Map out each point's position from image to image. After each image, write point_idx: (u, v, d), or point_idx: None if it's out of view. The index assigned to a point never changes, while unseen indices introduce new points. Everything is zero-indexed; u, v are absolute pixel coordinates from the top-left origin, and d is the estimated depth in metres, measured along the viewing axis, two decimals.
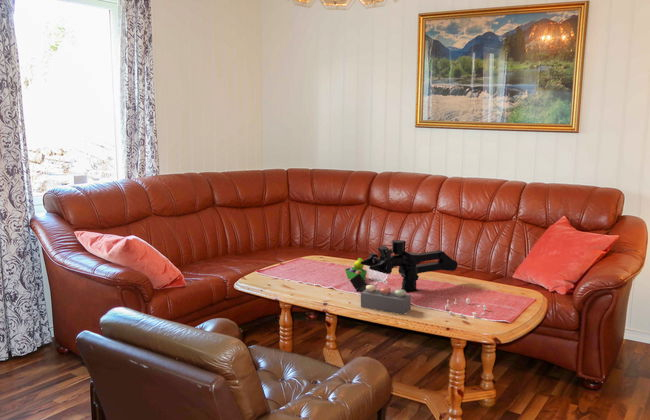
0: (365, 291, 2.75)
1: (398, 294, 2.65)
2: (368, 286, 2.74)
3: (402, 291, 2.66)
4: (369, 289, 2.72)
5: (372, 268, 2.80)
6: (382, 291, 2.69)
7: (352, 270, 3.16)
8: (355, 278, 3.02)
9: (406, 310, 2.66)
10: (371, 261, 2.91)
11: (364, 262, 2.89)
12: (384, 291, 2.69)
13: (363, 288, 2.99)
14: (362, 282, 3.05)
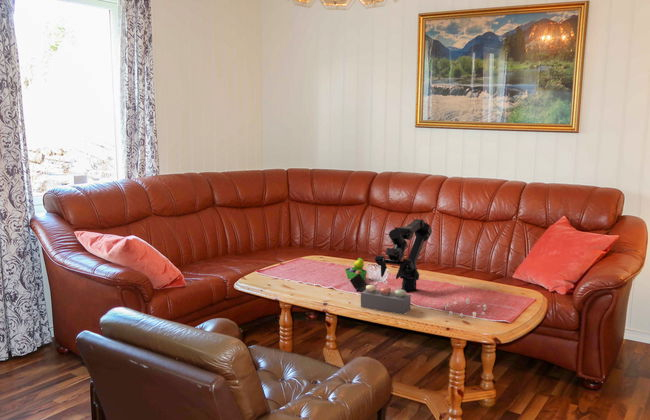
0: (365, 291, 2.75)
1: (398, 294, 2.65)
2: (368, 286, 2.74)
3: (402, 291, 2.66)
4: (369, 289, 2.72)
5: (398, 277, 2.72)
6: (382, 291, 2.69)
7: (352, 270, 3.16)
8: (355, 278, 3.02)
9: (406, 310, 2.66)
10: (384, 265, 2.79)
11: (383, 273, 2.76)
12: (384, 291, 2.69)
13: (363, 288, 2.99)
14: (362, 282, 3.05)
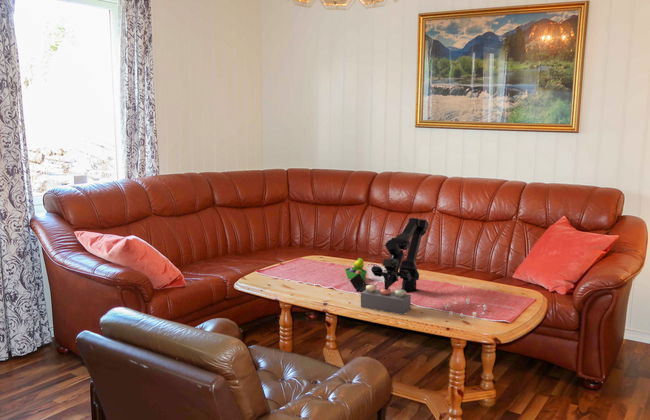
0: (365, 291, 2.75)
1: (398, 294, 2.65)
2: (368, 286, 2.74)
3: (402, 291, 2.66)
4: (369, 289, 2.72)
5: (388, 287, 2.71)
6: (382, 292, 2.69)
7: (352, 270, 3.16)
8: (355, 278, 3.02)
9: (406, 310, 2.66)
10: (388, 277, 2.74)
11: None
12: (384, 292, 2.69)
13: (363, 288, 2.99)
14: (362, 282, 3.05)
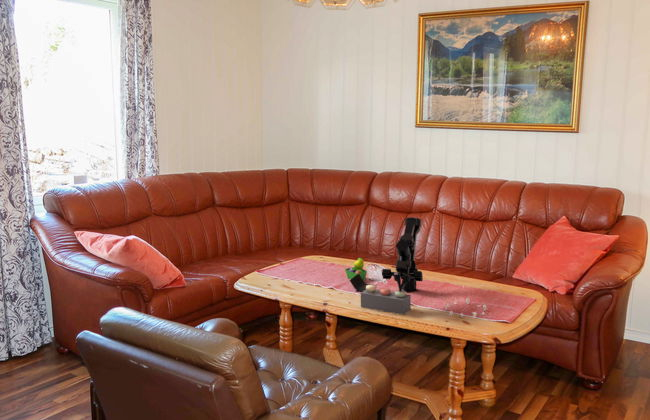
0: (365, 291, 2.75)
1: (398, 295, 2.65)
2: (368, 286, 2.74)
3: (402, 292, 2.66)
4: (369, 289, 2.72)
5: (402, 289, 2.68)
6: (382, 293, 2.69)
7: (352, 270, 3.16)
8: (355, 278, 3.02)
9: (406, 310, 2.66)
10: None
11: None
12: (384, 293, 2.69)
13: (363, 288, 2.99)
14: (361, 282, 3.05)
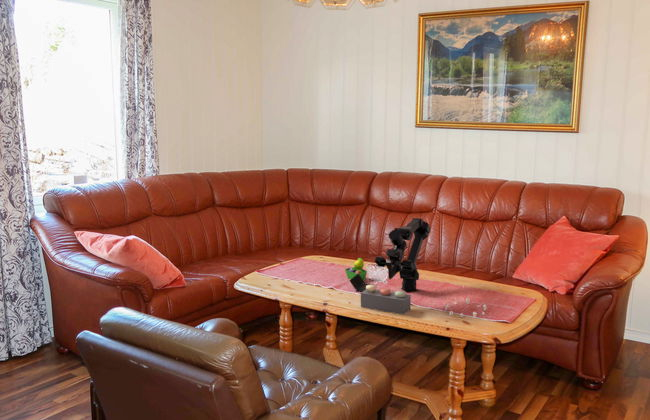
0: (365, 291, 2.75)
1: (398, 296, 2.65)
2: (368, 286, 2.74)
3: (402, 293, 2.66)
4: (369, 289, 2.72)
5: (392, 277, 2.73)
6: (382, 293, 2.69)
7: (352, 270, 3.16)
8: (354, 278, 3.02)
9: (406, 310, 2.66)
10: (391, 267, 2.76)
11: None
12: (384, 293, 2.69)
13: (363, 288, 2.99)
14: (361, 282, 3.05)
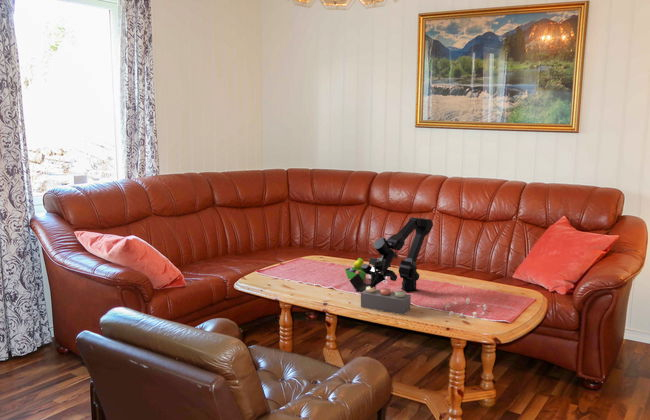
0: (365, 291, 2.75)
1: (398, 296, 2.65)
2: (368, 288, 2.74)
3: (402, 293, 2.66)
4: (369, 290, 2.72)
5: (373, 285, 2.75)
6: (382, 293, 2.69)
7: (352, 270, 3.16)
8: (354, 278, 3.02)
9: (406, 310, 2.66)
10: (375, 275, 2.77)
11: None
12: (384, 293, 2.69)
13: (363, 288, 2.99)
14: (361, 282, 3.05)
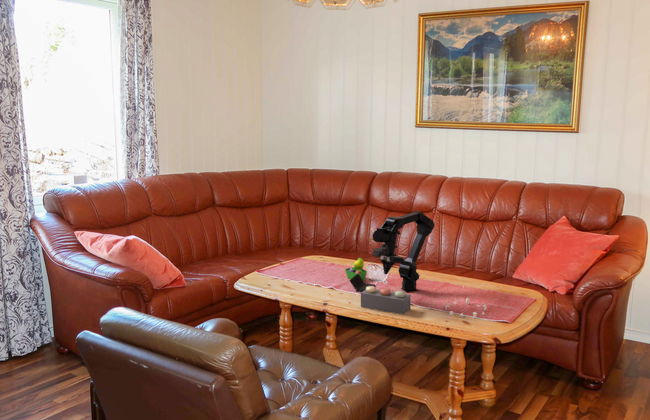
0: (365, 291, 2.75)
1: (398, 296, 2.65)
2: (368, 288, 2.74)
3: (402, 293, 2.66)
4: (369, 290, 2.72)
5: (387, 271, 2.83)
6: (382, 293, 2.69)
7: (352, 270, 3.16)
8: (354, 278, 3.02)
9: (406, 310, 2.66)
10: None
11: None
12: (384, 293, 2.69)
13: (363, 288, 2.99)
14: (361, 282, 3.05)
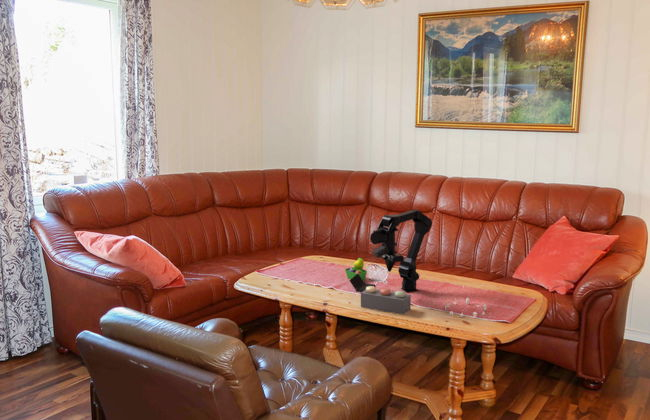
0: (365, 291, 2.75)
1: (398, 296, 2.65)
2: (368, 288, 2.74)
3: (402, 293, 2.66)
4: (369, 290, 2.72)
5: (390, 269, 2.85)
6: (382, 293, 2.69)
7: (352, 270, 3.16)
8: (354, 278, 3.02)
9: (406, 310, 2.66)
10: (388, 258, 2.85)
11: None
12: (384, 293, 2.69)
13: (363, 288, 2.99)
14: (361, 282, 3.05)
